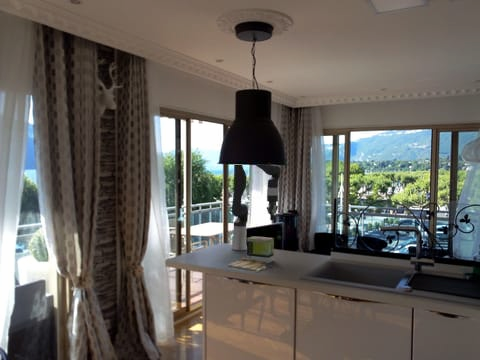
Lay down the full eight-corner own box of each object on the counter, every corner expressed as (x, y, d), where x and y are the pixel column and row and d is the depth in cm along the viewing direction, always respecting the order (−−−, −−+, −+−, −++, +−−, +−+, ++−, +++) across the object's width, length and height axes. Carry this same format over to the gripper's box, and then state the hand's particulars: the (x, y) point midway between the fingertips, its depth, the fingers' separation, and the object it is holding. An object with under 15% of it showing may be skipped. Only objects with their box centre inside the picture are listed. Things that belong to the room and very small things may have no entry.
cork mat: (227, 266, 241) (227, 263, 241) (241, 261, 255) (241, 258, 255) (253, 270, 232) (254, 267, 232) (266, 265, 245) (266, 262, 245)
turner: (259, 272, 228) (259, 270, 228) (253, 271, 230) (253, 269, 230) (272, 266, 242) (272, 264, 242) (267, 265, 244) (267, 263, 244)
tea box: (273, 260, 258) (274, 237, 257) (267, 263, 249) (268, 240, 248) (252, 257, 265) (253, 235, 264) (246, 260, 256) (246, 237, 255)
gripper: (272, 193, 277) (271, 218, 277) (263, 194, 266) (262, 220, 266) (282, 194, 273) (281, 219, 273) (273, 195, 262) (272, 221, 262)
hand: (272, 220), depth 270 cm, fingers closed
